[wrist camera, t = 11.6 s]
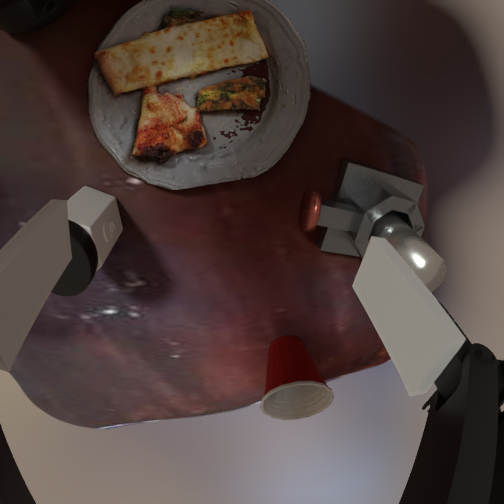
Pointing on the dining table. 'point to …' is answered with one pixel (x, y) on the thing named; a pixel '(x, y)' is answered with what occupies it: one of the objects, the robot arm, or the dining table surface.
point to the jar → (88, 238)
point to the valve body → (359, 207)
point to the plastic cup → (293, 382)
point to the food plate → (197, 90)
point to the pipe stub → (411, 249)
